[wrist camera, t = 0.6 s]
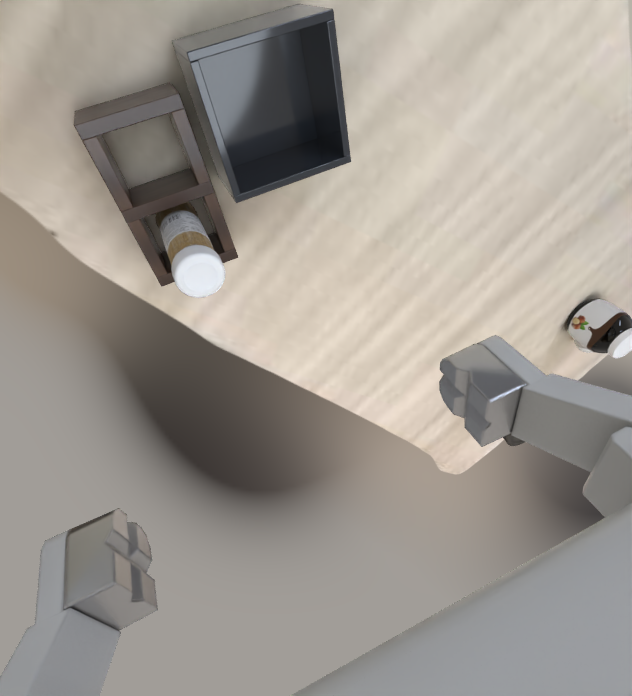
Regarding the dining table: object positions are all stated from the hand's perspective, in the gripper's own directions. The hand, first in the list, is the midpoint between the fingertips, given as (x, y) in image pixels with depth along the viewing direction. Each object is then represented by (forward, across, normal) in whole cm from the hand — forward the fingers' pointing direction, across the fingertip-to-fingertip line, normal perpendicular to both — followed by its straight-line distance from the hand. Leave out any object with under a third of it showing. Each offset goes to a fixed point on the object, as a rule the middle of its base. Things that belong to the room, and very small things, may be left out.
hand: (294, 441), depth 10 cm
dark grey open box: (+42, -11, +3) cm, 43 cm away
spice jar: (+42, +1, +11) cm, 44 cm away
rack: (+42, +1, +8) cm, 43 cm away
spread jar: (+43, -71, +64) cm, 105 cm away
